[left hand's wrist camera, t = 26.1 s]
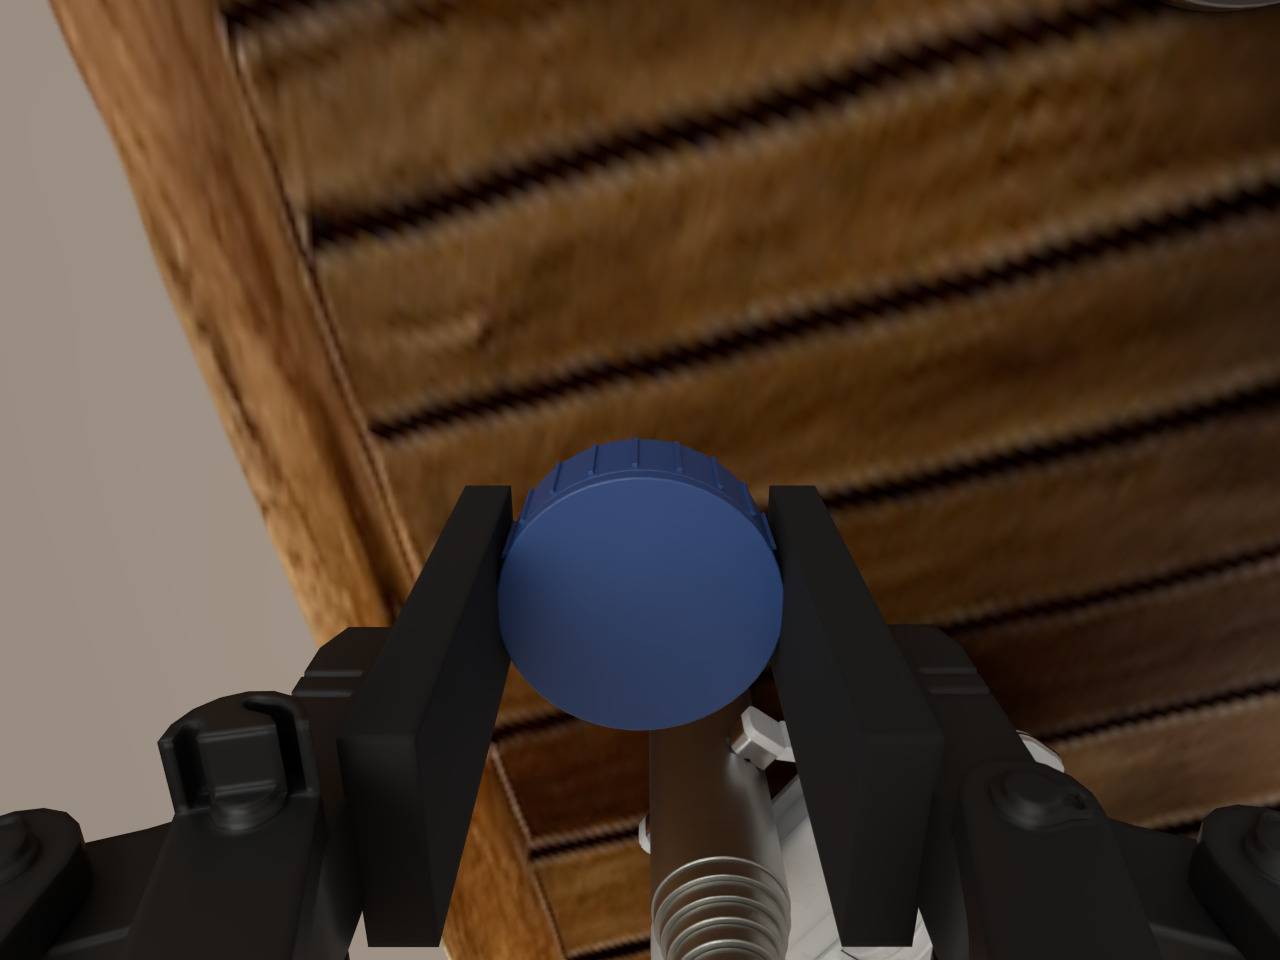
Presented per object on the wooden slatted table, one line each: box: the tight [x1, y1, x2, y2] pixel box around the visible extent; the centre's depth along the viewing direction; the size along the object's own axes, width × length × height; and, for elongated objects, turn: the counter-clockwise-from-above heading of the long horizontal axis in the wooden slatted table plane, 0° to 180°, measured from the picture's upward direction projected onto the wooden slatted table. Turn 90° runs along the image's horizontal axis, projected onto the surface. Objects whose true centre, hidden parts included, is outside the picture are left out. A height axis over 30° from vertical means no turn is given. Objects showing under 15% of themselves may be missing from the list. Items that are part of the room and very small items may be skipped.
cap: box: [497, 437, 784, 730], centre depth 14 cm, size 4×4×2 cm
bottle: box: [649, 687, 791, 960], centre depth 35 cm, size 5×5×19 cm
